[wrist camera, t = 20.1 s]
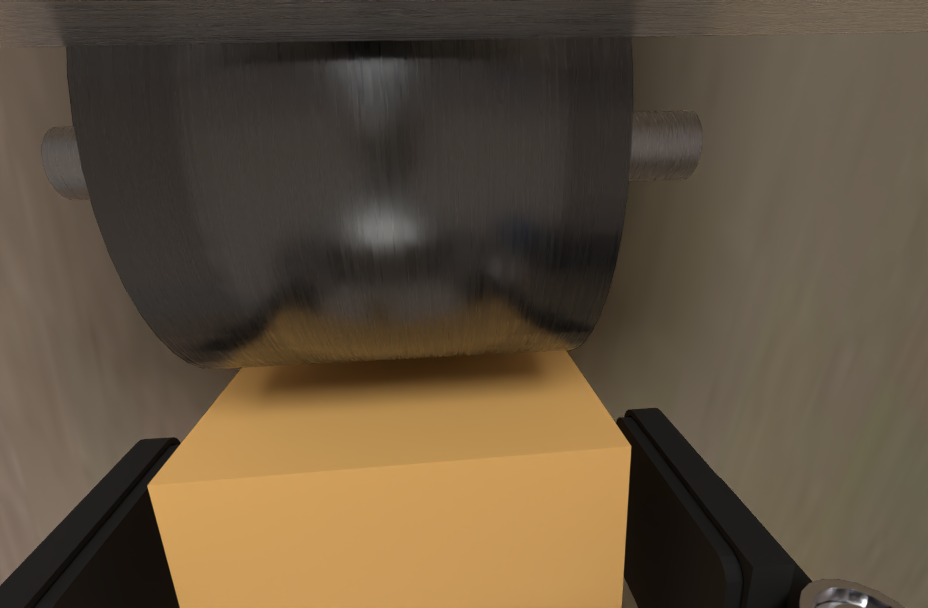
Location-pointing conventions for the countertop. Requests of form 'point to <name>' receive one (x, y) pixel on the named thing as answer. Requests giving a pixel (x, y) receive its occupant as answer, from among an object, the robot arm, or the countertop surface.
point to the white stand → (375, 161)
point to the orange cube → (400, 488)
